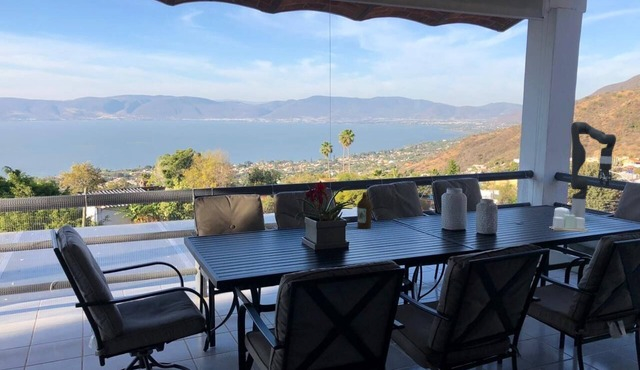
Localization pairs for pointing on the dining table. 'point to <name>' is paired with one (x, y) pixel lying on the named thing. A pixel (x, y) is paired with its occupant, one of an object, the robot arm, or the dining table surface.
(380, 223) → the dining table surface
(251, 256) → the dining table surface
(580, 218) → the mounted modules
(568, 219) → the loose module
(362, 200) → the olive oil
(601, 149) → the robot arm
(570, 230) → the rail board
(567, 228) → the metal rail
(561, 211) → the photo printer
